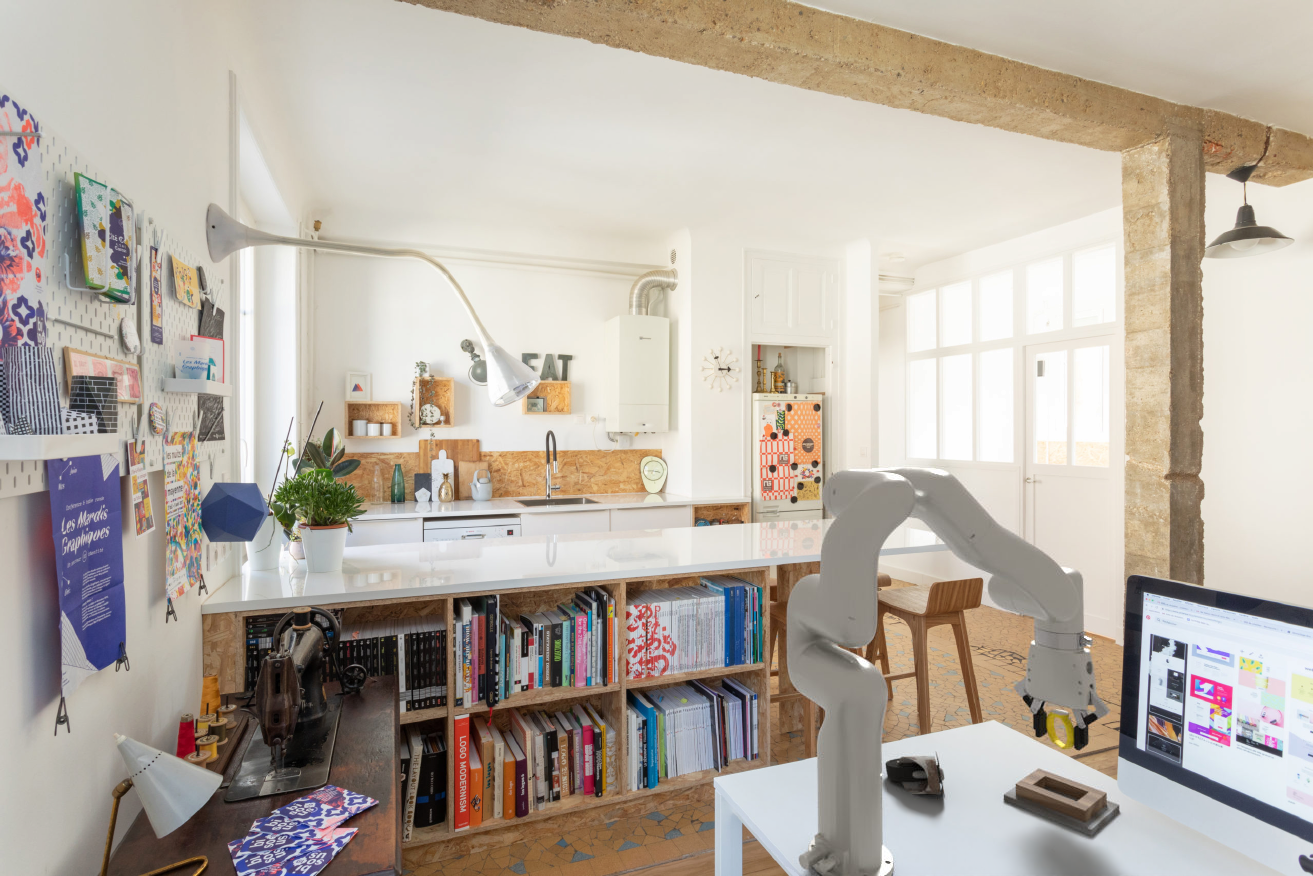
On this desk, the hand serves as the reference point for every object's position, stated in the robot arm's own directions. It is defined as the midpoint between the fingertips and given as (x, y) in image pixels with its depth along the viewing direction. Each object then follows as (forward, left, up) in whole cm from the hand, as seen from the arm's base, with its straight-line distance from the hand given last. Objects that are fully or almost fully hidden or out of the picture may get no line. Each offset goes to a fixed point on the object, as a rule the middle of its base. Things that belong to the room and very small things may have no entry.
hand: (1060, 740), depth 120 cm
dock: (0, 0, -11) cm, 11 cm away
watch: (0, 0, -1) cm, 1 cm away
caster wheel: (-14, +20, -12) cm, 27 cm away
